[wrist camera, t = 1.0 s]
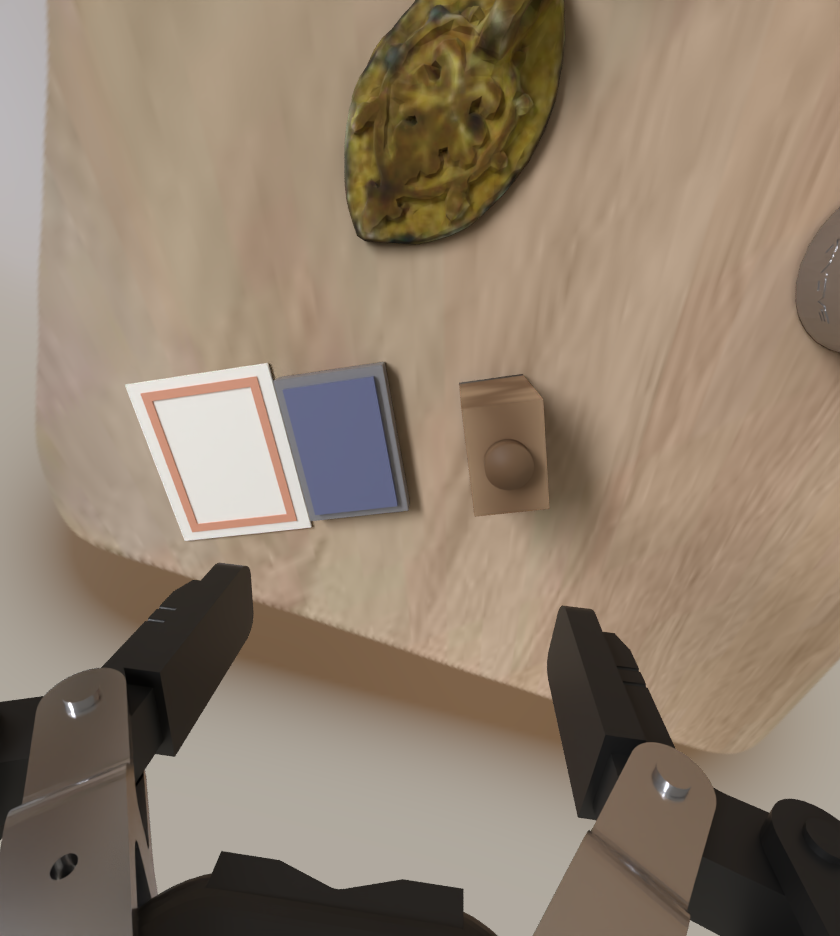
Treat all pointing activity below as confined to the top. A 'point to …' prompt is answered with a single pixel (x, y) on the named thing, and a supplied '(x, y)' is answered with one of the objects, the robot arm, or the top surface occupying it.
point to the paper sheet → (222, 452)
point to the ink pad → (344, 441)
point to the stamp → (505, 445)
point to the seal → (449, 114)
